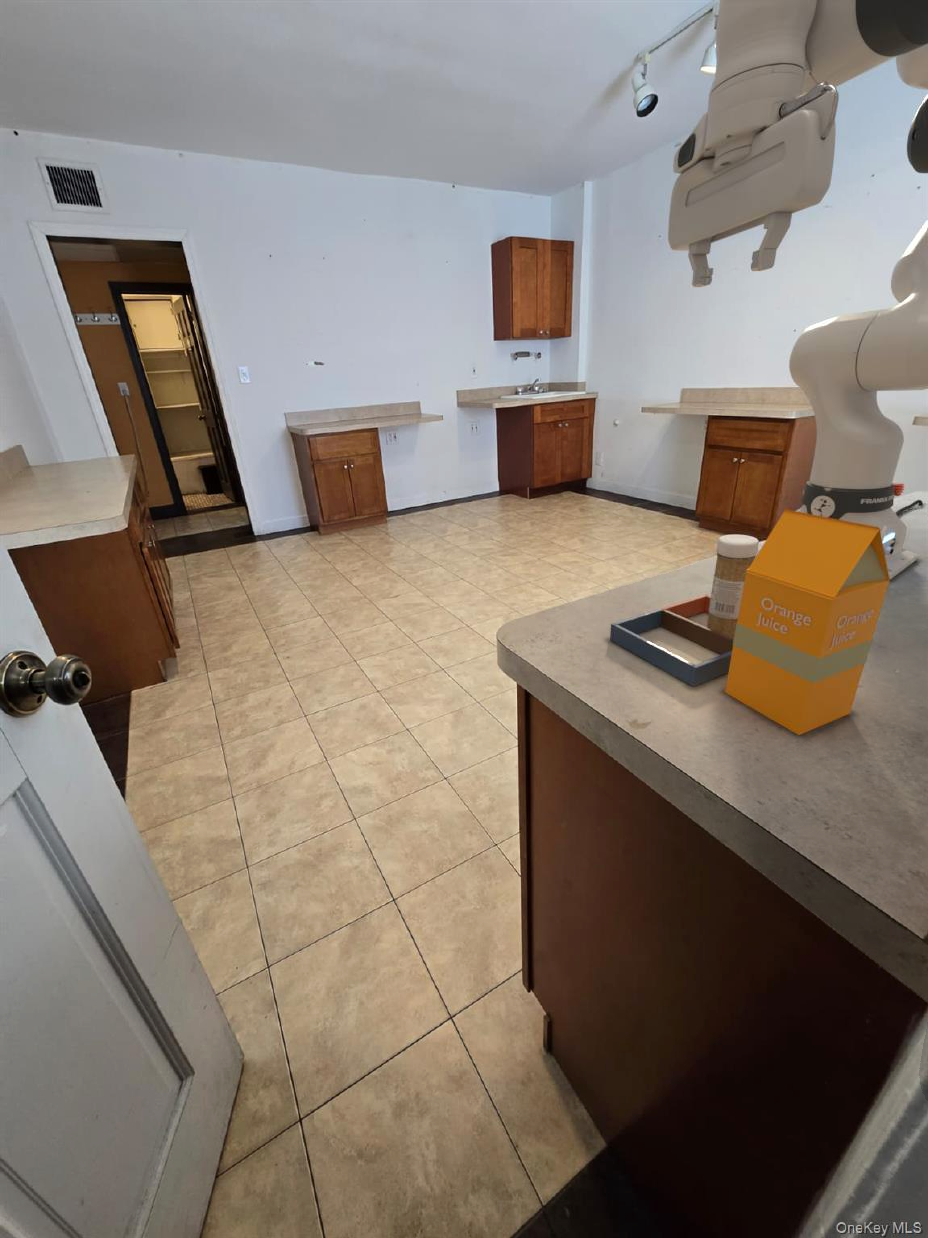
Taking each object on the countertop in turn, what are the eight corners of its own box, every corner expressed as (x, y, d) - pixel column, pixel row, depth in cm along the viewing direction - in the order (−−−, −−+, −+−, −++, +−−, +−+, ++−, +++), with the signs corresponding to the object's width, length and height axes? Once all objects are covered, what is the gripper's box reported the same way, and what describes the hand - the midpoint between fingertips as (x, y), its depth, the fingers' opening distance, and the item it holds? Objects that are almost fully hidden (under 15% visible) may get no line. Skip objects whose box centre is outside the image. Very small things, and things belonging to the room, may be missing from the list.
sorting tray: (703, 609, 77) (705, 594, 76) (794, 646, 65) (798, 628, 64) (609, 640, 70) (610, 623, 69) (693, 687, 58) (695, 668, 57)
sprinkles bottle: (748, 635, 69) (767, 537, 63) (729, 645, 66) (746, 545, 61) (717, 624, 72) (731, 531, 67) (697, 633, 70) (710, 538, 64)
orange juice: (798, 736, 50) (850, 535, 41) (723, 692, 57) (754, 514, 49) (851, 713, 52) (910, 520, 44) (773, 674, 60) (810, 503, 51)
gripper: (869, 73, 46) (831, 257, 52) (707, 163, 64) (693, 293, 70) (814, 66, 45) (782, 257, 50) (664, 161, 63) (653, 293, 68)
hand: (729, 278), depth 60 cm, fingers open, 8 cm apart
